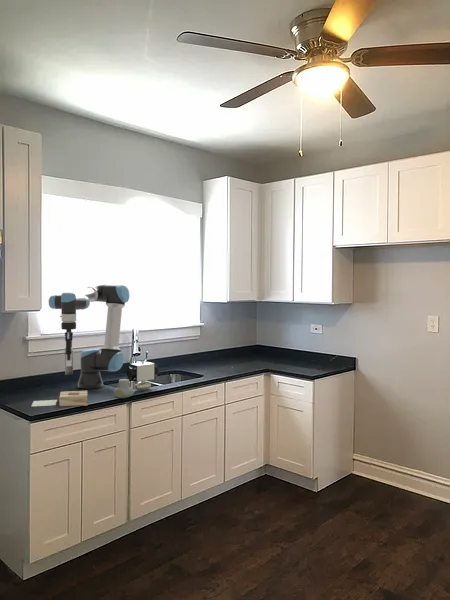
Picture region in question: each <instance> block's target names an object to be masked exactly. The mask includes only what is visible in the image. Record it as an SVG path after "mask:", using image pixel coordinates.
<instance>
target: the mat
mask: <svg viewBox="0 0 450 600" xmlns="http://www.w3.org/2000/svg"><path fill="white" fill-rule="evenodd" d="M57 402H58V399H50V400H49V399H48V400H33V402H32V404H31V406H30V407H47V406H56V405H57Z"/></svg>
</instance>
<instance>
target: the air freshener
mask: <svg viewBox="0 0 450 600" xmlns="http://www.w3.org/2000/svg"><path fill="white" fill-rule="evenodd" d="M134 390H135V389H133V387H131V386H130V379H129V378H120V379H119V380H118V387H116V388H115V389H114V390H113V395H114V396H116V397H117V398H118V399H127V398H131V397H132V396H133V395H134V392H135V391H134Z"/></svg>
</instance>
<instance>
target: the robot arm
mask: <svg viewBox="0 0 450 600" xmlns="http://www.w3.org/2000/svg"><path fill="white" fill-rule="evenodd" d="M129 299H130V291H129V288H128V286H127V285H126V284H124V283H120V282H119V283H99V284H95V285H92V286H88V287H86V288H85V289H81V290H77V291H73V292H62V293H61V295H57V294H55V295H50V297H49V299H48V300H47V301H48V306H49V308H51V309H53V310H61V313H60V314H61V315H60V316H59V318H61V321H62V322H61V324H60V325H61V328H60V329H62V330H66V332H64V336H65V339H64V341H65V348H66V353H65V352H64V355H65V354H66V366H72V358H71V347H72V348H73V346H72V345H73V336H74V335H73V334H74V332H73V331H72V330H76V329H77V322H76V321H77V311H78V310H79V311H80V310H86V309H88V308H89V306H90V304H91V303H94V302H99V303H100V302H102V303H105V305H106V307H107V311H106V312H107V315H106V324H105V326H106V327H105V332H104V333H105V335H104V345H103V346H102V347H101V349H100V348H91V349H85V350H82V351H81V352H80V357H79V359H80V376H79V379H78V382H77V388H78V389H79V388H80V389H87V390H88V389H98V388H99V389H100V388H102V387H104V382H103V379H102V375H101V371H104V372H105V371H107V372H117V371H119V370H121V368H122V367H123V364H124V362H125V357H124V354H123V352H121V351H122V349H121V348H120V346H119V345H120V335H121V334H120V333H121V324H122V311H123V308H124V307H125V306H126V303H128V302H129Z"/></svg>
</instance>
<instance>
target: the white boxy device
mask: <svg viewBox="0 0 450 600" xmlns="http://www.w3.org/2000/svg"><path fill="white" fill-rule="evenodd" d="M158 375H159V367H158V365H157V364H156V362H152V361H151V362H150V361H144V360H141V362H138V363H137V362H136V363H130V364H129V366H128V368H127V369H126V376H127V379H129V381H131V382H135V384H134V390H135V391H137V392H141V391H148V390H150V389H151V388H152V384H151V382H148V381H151V380H156V377H157V376H158ZM136 382H137V383H136ZM138 390H139V391H138Z"/></svg>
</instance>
